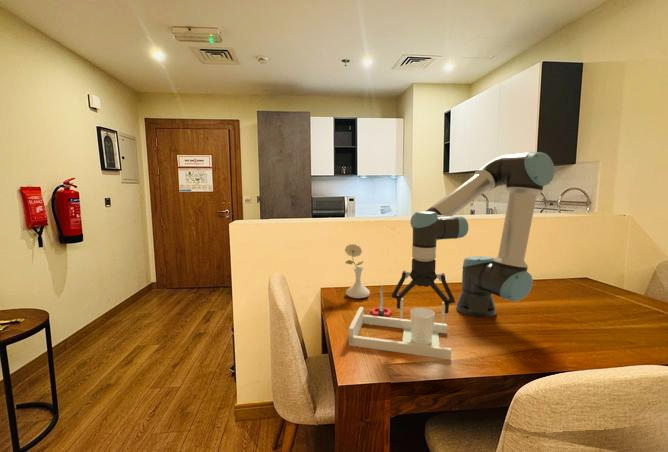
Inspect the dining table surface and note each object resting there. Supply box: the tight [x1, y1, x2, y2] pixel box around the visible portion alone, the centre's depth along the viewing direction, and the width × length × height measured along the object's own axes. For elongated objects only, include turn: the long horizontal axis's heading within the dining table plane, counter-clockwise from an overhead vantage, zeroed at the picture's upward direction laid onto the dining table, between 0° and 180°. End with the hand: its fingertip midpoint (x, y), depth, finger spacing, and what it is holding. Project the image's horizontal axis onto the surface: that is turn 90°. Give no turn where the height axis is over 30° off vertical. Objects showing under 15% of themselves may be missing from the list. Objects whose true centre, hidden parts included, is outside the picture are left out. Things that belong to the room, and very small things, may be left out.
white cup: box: [410, 307, 436, 345], centre depth 108 cm, size 8×8×10 cm
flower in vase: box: [344, 243, 371, 299], centre depth 151 cm, size 13×11×25 cm
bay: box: [348, 306, 452, 361], centre depth 110 cm, size 32×19×6 cm, turn 74°
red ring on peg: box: [370, 285, 392, 318], centre depth 132 cm, size 8×13×9 cm
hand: (421, 319), depth 108 cm, fingers open, 13 cm apart
